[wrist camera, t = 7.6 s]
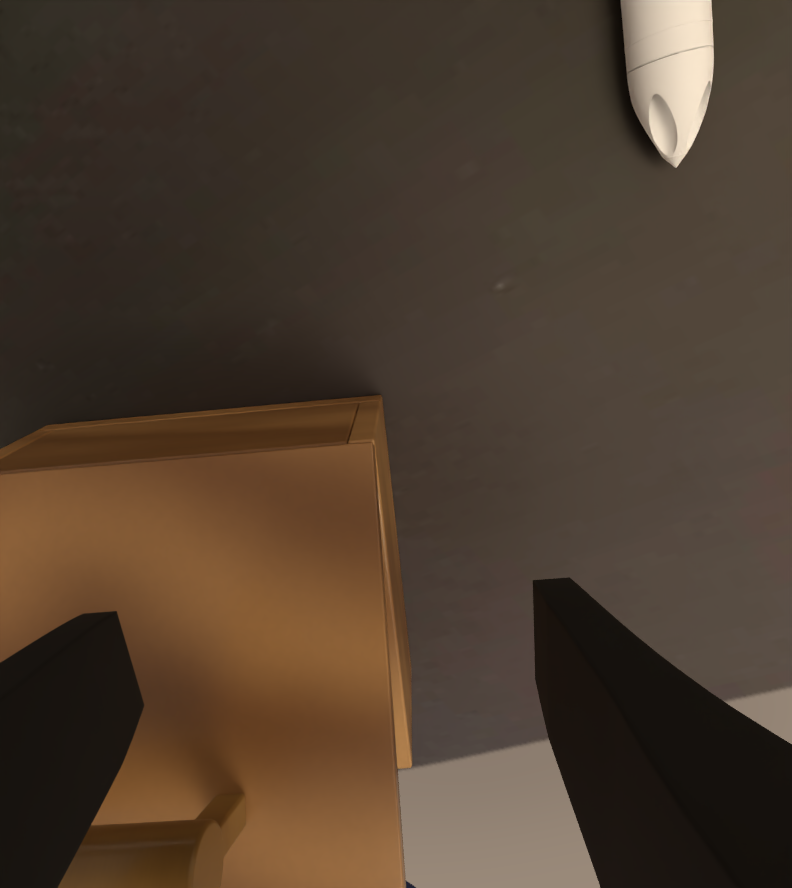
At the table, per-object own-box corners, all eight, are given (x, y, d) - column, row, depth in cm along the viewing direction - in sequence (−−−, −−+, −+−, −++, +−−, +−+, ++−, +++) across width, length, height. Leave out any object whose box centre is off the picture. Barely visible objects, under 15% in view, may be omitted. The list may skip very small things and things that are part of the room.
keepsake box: (411, 666, 23) (412, 769, 18) (125, 686, 23) (59, 790, 19) (382, 394, 19) (374, 439, 15) (47, 424, 20) (-57, 476, 15)
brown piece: (411, 964, 13) (401, 1147, 9) (-89, 985, 13) (-307, 1167, 9) (374, 445, 15) (353, 408, 11) (-57, 482, 15) (-225, 459, 12)
